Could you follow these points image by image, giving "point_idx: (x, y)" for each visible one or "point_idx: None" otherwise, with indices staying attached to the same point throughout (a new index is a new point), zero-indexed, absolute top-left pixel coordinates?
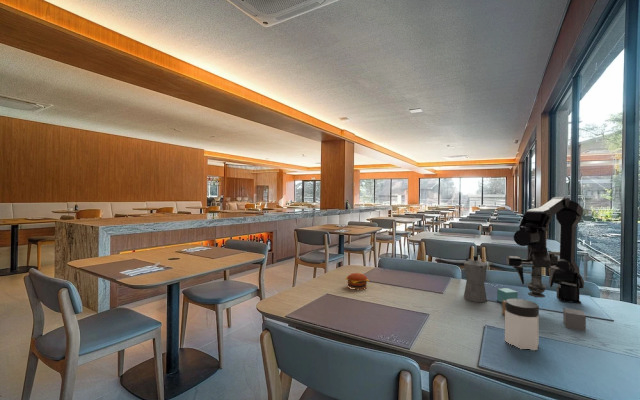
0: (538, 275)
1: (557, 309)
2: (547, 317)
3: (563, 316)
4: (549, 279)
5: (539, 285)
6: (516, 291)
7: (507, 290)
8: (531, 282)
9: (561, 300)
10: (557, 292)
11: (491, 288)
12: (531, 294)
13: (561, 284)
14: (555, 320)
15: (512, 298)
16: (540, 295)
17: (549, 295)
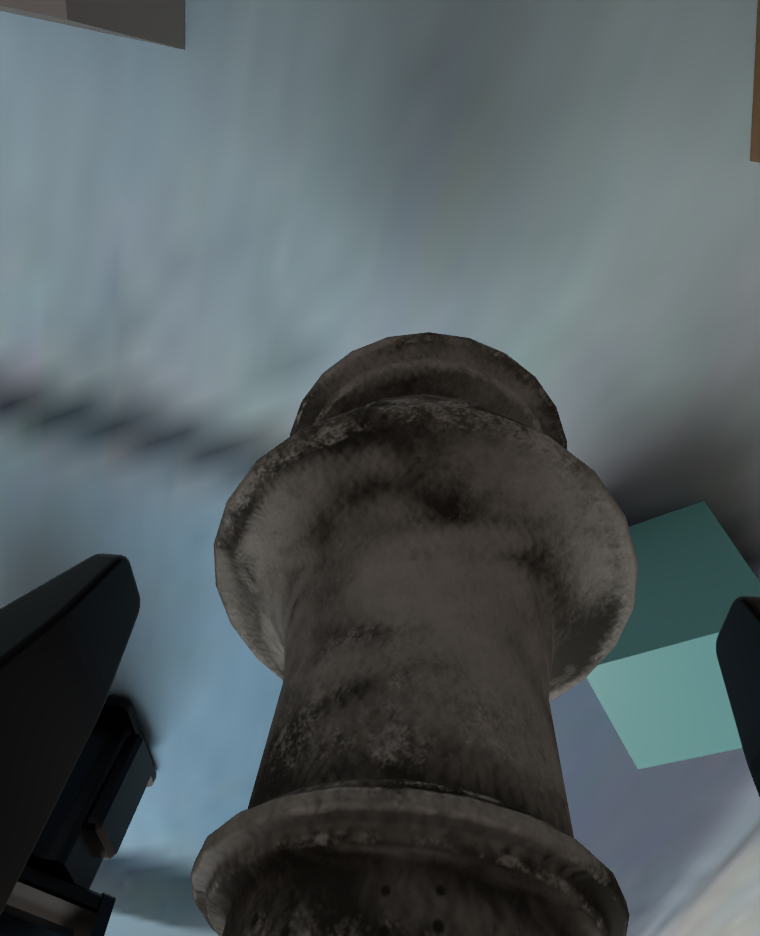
0: (365, 880)
1: (189, 507)
2: (348, 181)
3: (146, 24)
4: (52, 779)
5: (383, 513)
6: (591, 678)
7: (703, 692)
8: (553, 649)
9: (129, 706)
10: (130, 794)
11: (623, 851)
12: (535, 417)
13: (54, 877)
14: (273, 81)
15: (638, 579)
16: (381, 390)
17: (202, 789)
